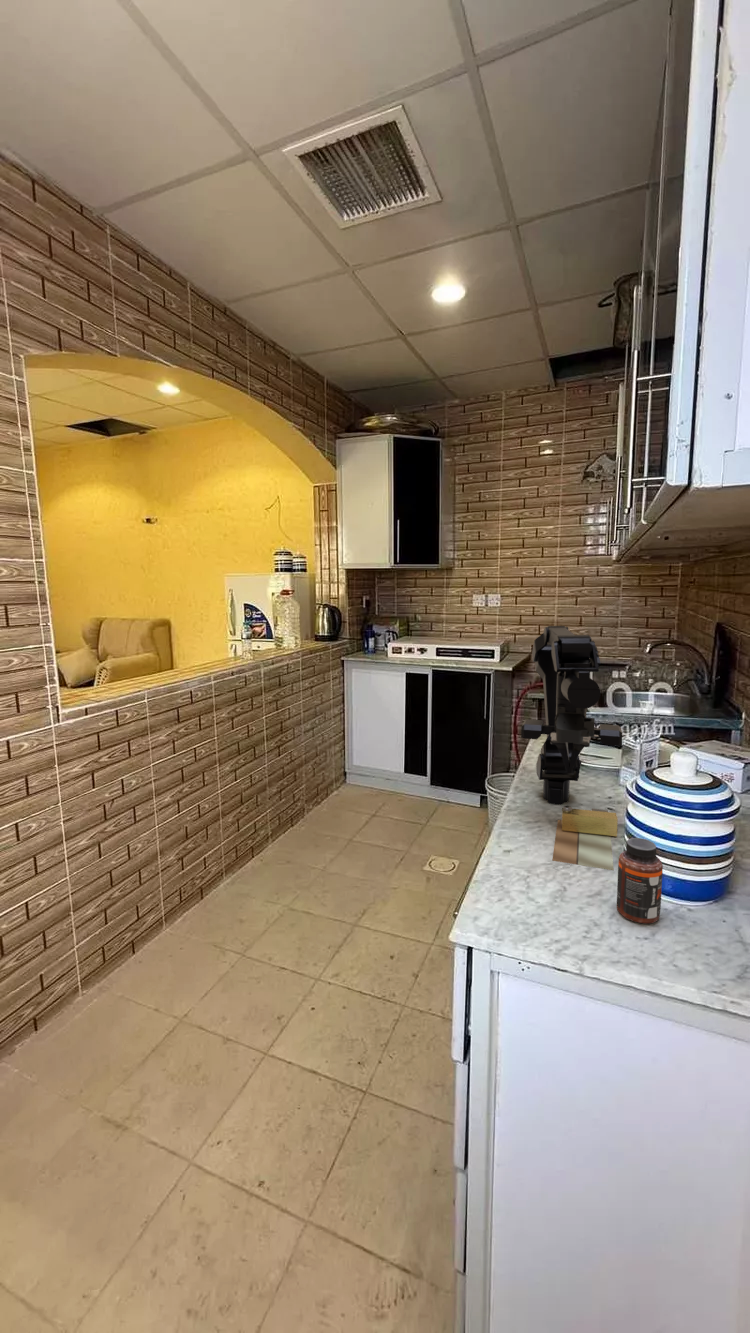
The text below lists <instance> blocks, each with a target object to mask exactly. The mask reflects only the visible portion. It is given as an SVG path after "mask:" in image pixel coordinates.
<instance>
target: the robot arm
mask: <svg viewBox="0 0 750 1333" xmlns="http://www.w3.org/2000/svg"><path fill="white" fill-rule="evenodd" d="M531 652H532V653H531V657H532V659H531V660H532V662H533V663H534V666H535V671H536V673H537V675H539V677H540V678H541V679H542V684H543V696H544V698H543V699H544V701H543V702H544V714H545V724H544V720H541V719H531V718H528V719H525V720H524V721H523V723H522V724H521V732H520V733H521V734H520V736H521V737H520V738H521V739H526V740H527V739H528V740H538V739H539V738H540V737H541V736H542V735H546V739H545V741H544V743H543V744H542V746H541V748H540V753H538V757H537V761H536V764H535V766H536V768H535V769H536V775H537V777H538V780H539V781H542V780H543V787H542V788H543V790H542V793H543V794H542V798H543V800H545V801H546V802H547V803H548V804H550V805H558V806H562V805H563V804H565V803H568V802H569V801H570V784H571V782H570V781H572V782H573V781H575V782H578V780H579V779H580V771H581V770H580V769H581V766H582V761H581V759H580V754H581V752H582V751H583V750H584V748H589V747H591V745H590V744H591V742H590V741H591V739H599V741H600V742H601V743H602V744H603V745H606V746H615V747H621V746H623V730H622V728H621V726H620V725H619V724H618V725H617V724H606V723H605V724H602V723H600V724H599V728H595V720H596V719H595V717H587V709H590V708H592V707H594V706H595V705H596V704H597V703H598V702H599V701H600V697H601V689H600V685H598V683H597V682H596V681H595V680H594V679H592V678H591V673H599V668H600V666H601V660H600V656H599V651H598V646H597V645H596V643H595V641H594V640H593V639H592V636H590V635H589V634H575V633H573V632H572V631H571V630H569V627H568V626H565V625H547V626H545V627H544V628H543V633H541V634H540V635H539V636H538V637H536V638H535V639H534V641H533V646H532V651H531Z"/></svg>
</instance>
